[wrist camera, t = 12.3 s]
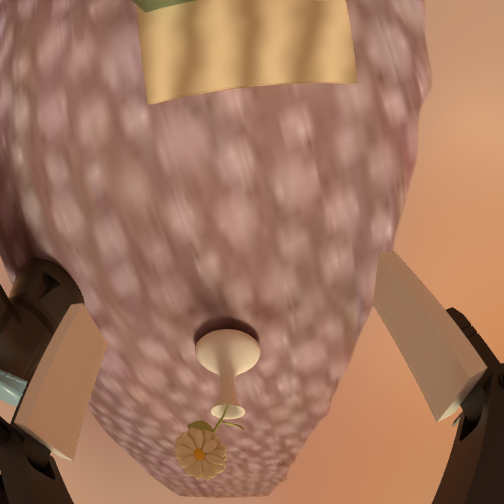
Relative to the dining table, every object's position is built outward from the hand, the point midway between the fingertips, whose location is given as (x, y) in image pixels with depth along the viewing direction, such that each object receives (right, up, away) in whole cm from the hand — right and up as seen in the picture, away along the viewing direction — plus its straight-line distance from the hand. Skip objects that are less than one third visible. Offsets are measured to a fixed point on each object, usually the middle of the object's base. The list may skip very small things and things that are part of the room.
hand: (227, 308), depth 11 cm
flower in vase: (-4, -14, +37) cm, 40 cm away
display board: (0, +30, +12) cm, 32 cm away
